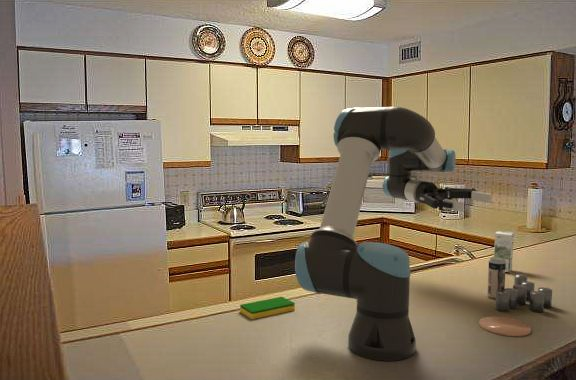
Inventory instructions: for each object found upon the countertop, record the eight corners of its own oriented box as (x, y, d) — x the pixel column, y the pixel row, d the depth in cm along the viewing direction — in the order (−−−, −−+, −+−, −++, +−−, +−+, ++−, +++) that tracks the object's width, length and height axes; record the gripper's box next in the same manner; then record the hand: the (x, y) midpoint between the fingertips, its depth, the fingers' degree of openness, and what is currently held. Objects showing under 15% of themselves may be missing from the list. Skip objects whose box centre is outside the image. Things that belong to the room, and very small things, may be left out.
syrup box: (512, 270, 180) (514, 231, 179) (509, 273, 175) (511, 234, 174) (495, 268, 183) (497, 230, 182) (493, 271, 178) (494, 232, 177)
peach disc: (504, 339, 116) (504, 336, 116) (469, 321, 127) (469, 319, 127) (542, 332, 120) (542, 330, 120) (505, 316, 131) (505, 314, 131)
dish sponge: (239, 313, 135) (239, 304, 134) (281, 304, 142) (281, 296, 142) (252, 320, 129) (252, 311, 128) (295, 311, 136) (295, 302, 136)
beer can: (502, 300, 145) (504, 261, 144) (485, 298, 147) (487, 259, 146) (505, 296, 149) (507, 258, 148) (488, 294, 151) (490, 256, 150)
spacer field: (477, 305, 140) (478, 288, 140) (517, 288, 157) (517, 273, 157) (530, 319, 130) (531, 301, 129) (566, 299, 146) (567, 283, 146)
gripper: (445, 195, 172) (500, 206, 154) (395, 210, 158) (450, 223, 141) (445, 175, 170) (501, 183, 153) (395, 187, 156) (450, 198, 139)
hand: (477, 202), depth 147 cm, fingers open, 13 cm apart
